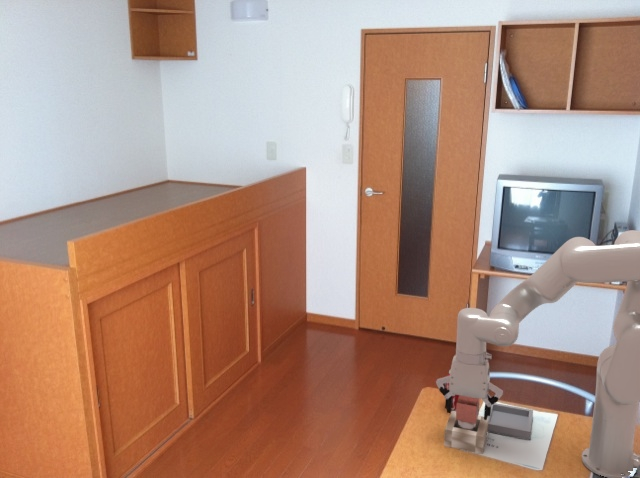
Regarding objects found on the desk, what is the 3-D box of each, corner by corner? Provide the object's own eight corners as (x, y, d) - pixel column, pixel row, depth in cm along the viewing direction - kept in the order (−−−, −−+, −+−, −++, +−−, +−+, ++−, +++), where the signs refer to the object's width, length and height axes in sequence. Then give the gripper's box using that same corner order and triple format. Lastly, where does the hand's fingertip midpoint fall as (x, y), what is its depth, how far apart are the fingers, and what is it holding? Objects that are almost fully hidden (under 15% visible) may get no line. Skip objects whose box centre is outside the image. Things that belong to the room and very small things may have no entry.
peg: (477, 436, 160) (479, 397, 157) (474, 447, 155) (476, 406, 152) (458, 432, 162) (460, 393, 159) (454, 442, 157) (456, 402, 154)
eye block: (487, 433, 161) (488, 417, 160) (482, 454, 152) (483, 437, 151) (451, 426, 165) (451, 410, 163) (444, 445, 156) (444, 429, 154)
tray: (532, 417, 168) (533, 409, 168) (529, 440, 158) (530, 432, 157) (489, 409, 173) (490, 402, 172) (484, 431, 162) (484, 423, 161)
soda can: (469, 416, 169) (472, 378, 167) (445, 414, 171) (446, 376, 168) (468, 404, 176) (470, 367, 173) (445, 401, 178) (446, 365, 175)
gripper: (506, 354, 152) (502, 413, 156) (440, 344, 159) (438, 401, 163) (503, 366, 146) (499, 427, 150) (434, 356, 152) (432, 414, 156)
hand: (467, 413), depth 156 cm, fingers open, 9 cm apart
